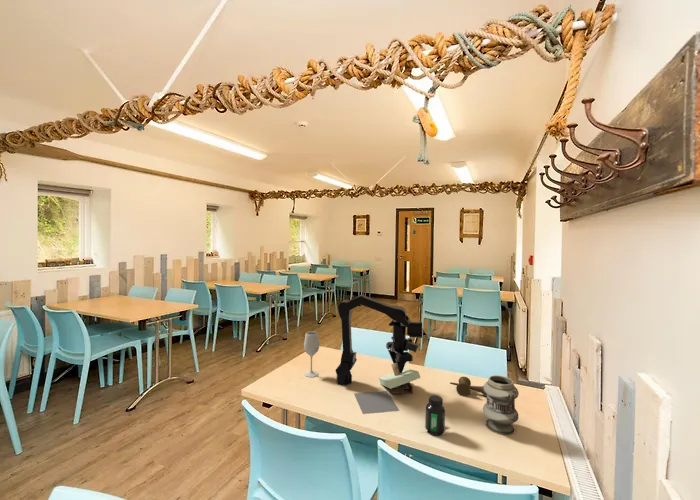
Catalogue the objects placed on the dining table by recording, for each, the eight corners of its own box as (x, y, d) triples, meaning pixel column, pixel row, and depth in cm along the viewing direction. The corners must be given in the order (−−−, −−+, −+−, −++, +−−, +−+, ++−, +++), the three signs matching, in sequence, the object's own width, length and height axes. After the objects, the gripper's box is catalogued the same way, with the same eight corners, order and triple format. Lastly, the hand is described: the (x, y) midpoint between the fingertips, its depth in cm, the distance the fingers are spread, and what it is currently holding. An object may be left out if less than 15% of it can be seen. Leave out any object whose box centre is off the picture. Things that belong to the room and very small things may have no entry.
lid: (390, 388, 139) (384, 370, 141) (380, 383, 155) (375, 367, 156) (420, 377, 143) (414, 359, 144) (408, 374, 158) (402, 357, 160)
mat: (362, 416, 128) (362, 413, 128) (353, 395, 145) (353, 393, 145) (399, 413, 131) (399, 410, 131) (386, 393, 148) (386, 390, 148)
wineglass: (321, 373, 168) (322, 332, 167) (312, 378, 161) (312, 336, 161) (310, 369, 172) (310, 330, 171) (300, 375, 165) (301, 333, 165)
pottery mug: (416, 400, 143) (408, 385, 141) (396, 407, 145) (388, 393, 143) (412, 381, 155) (405, 367, 153) (394, 388, 156) (387, 375, 154)
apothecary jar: (482, 415, 131) (484, 370, 130) (516, 422, 126) (518, 376, 125) (482, 432, 119) (483, 383, 119) (519, 440, 115) (521, 389, 114)
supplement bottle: (436, 438, 115) (437, 404, 114) (421, 429, 120) (422, 396, 120) (448, 432, 119) (449, 399, 118) (433, 423, 124) (434, 391, 124)
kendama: (496, 404, 141) (447, 393, 149) (496, 395, 150) (450, 385, 158) (497, 390, 141) (448, 380, 149) (496, 382, 150) (451, 372, 157)
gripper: (424, 341, 141) (423, 377, 142) (408, 329, 159) (407, 361, 160) (399, 342, 139) (398, 379, 139) (386, 330, 157) (385, 362, 158)
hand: (398, 369), depth 149 cm, fingers open, 6 cm apart
